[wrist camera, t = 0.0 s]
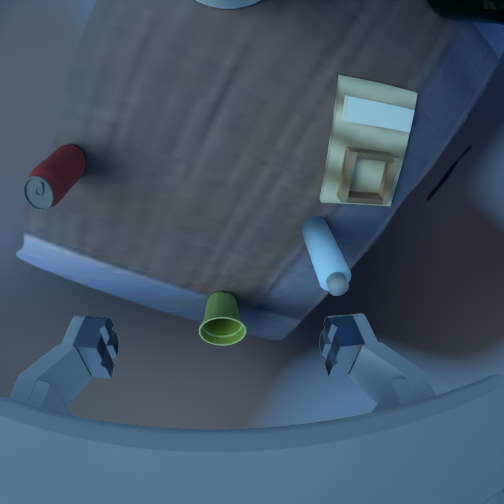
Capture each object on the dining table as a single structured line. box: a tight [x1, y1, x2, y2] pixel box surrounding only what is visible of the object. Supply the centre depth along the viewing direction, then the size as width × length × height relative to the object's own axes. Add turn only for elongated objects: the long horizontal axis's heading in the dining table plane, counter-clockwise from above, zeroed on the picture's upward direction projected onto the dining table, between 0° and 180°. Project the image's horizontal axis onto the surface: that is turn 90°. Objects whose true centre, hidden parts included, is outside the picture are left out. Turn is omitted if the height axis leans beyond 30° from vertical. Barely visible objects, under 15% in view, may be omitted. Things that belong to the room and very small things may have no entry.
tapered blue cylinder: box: [301, 216, 351, 296], centre depth 50 cm, size 5×5×16 cm
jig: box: [320, 75, 418, 206], centre depth 45 cm, size 22×14×4 cm, turn 177°
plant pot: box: [199, 292, 246, 345], centre depth 62 cm, size 9×9×9 cm
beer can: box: [23, 145, 86, 211], centre depth 39 cm, size 7×7×12 cm
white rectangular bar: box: [342, 95, 415, 133], centre depth 41 cm, size 4×12×2 cm, turn 87°
